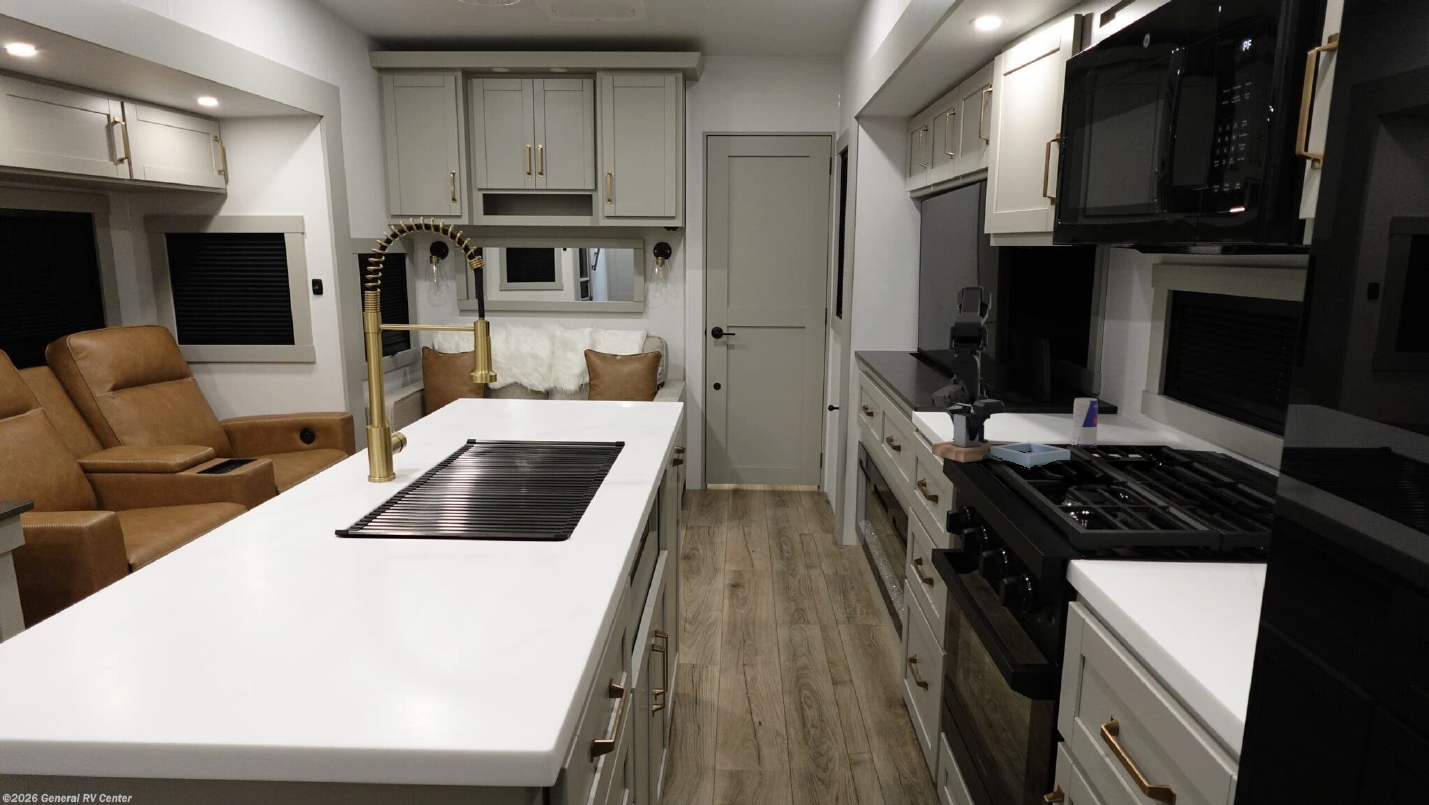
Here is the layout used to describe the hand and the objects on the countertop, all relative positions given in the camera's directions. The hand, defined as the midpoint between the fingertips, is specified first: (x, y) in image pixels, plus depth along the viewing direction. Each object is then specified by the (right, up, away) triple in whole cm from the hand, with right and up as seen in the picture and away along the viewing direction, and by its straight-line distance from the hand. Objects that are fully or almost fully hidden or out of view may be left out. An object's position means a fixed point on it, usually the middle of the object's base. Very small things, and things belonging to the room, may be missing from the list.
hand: (965, 439), depth 188 cm
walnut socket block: (0, -4, +1) cm, 4 cm away
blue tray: (+12, -5, -7) cm, 15 cm away
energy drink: (+31, -3, +7) cm, 32 cm away
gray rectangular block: (0, -4, +1) cm, 4 cm away
